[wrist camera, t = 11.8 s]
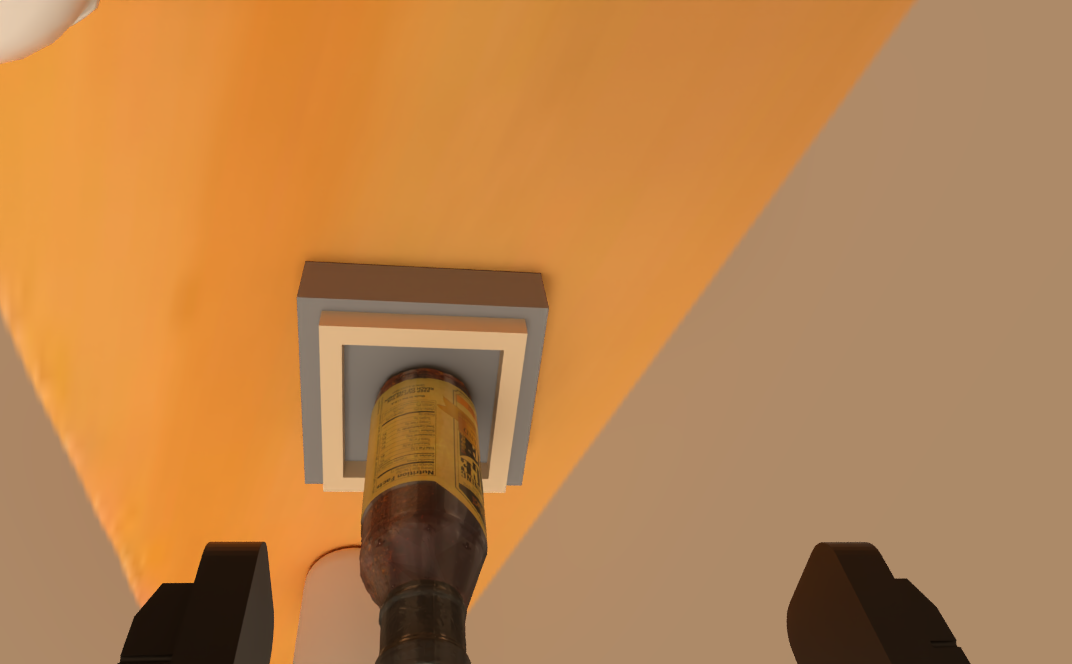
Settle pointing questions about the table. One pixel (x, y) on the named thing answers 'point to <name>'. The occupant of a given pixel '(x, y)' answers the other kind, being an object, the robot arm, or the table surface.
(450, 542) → the sauce bottle
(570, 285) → the table surface
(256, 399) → the table surface
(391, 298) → the tray
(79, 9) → the vodka
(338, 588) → the milk bottle
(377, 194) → the table surface
